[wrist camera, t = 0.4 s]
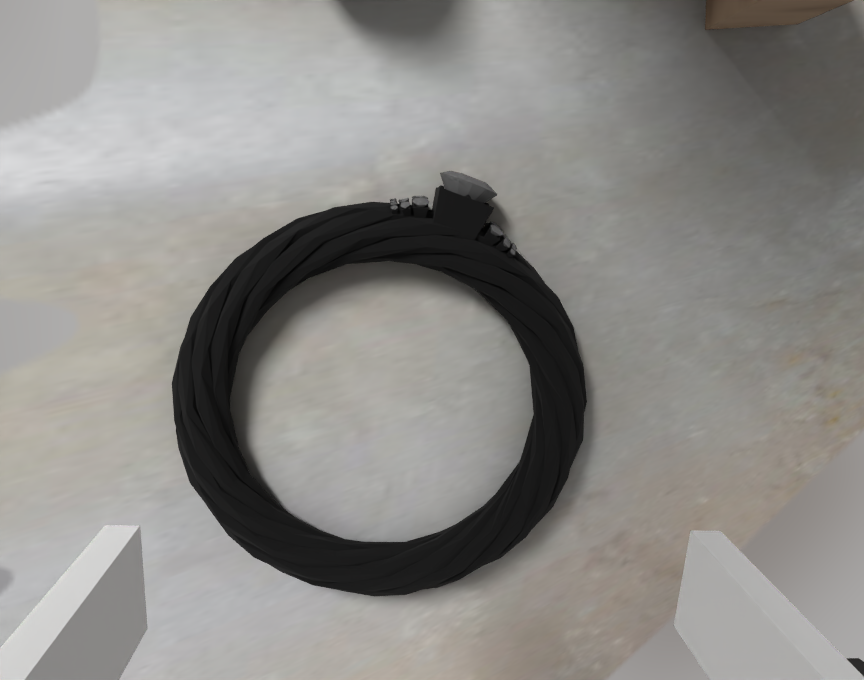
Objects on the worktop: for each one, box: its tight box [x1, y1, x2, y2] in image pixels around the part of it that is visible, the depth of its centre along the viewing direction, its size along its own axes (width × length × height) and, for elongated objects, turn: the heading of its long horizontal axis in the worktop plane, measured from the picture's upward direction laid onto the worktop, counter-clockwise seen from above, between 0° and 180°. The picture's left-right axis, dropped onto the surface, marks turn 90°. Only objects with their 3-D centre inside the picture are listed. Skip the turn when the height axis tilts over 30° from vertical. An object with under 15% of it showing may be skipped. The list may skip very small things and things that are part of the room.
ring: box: [172, 171, 587, 596], centre depth 39 cm, size 28×4×30 cm
